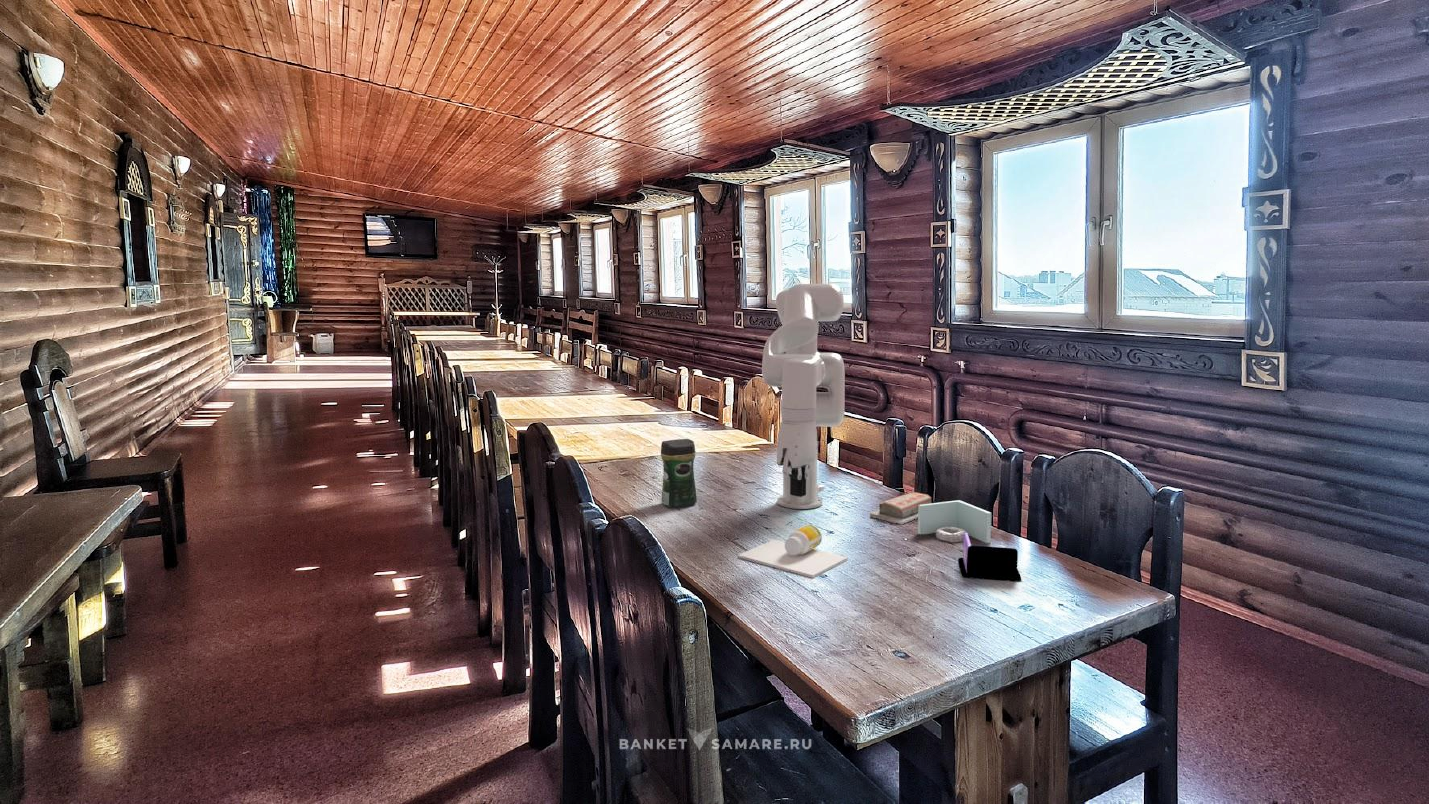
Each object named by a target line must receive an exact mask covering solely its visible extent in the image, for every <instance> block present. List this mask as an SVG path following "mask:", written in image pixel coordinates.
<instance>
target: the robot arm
mask: <svg viewBox="0 0 1429 804" xmlns="http://www.w3.org/2000/svg"><path fill="white" fill-rule="evenodd" d="M775 307H776V311H777V316H778V318H779V320H780V324H781V326H780V327H778V328H777V329H776V330H775V331H774V332H772V333H771V335H769V337H768V338H767V340H766V341H765V344H764V347H763V351H762V364H761V375H762V380H763V382H764V383H765V384H766V385H767V386H769V387H775V388H781V399H780V409H779V410H780V415H781V422H780V423H779V424H780V425H779V427H778V428H779V429H778V433H777V445H776V464H777V466H781V467H782V472H781V473H782V495H780V496H779V497H778V498H777V501H776V502H777V504H778V505H779V506H781V507H783V508H787V509H796V510H808V509H816V508H819V507H821V506H822V505H823V499H822V498H821V497H819V496H818V495H819V493H821V492H823V491H825V486H824V485H823V484H818V431H817V427H818V428H819V427H821V428H822V427H824V428H825V427H827V428H828V427H829V428H832V427H833V428H834V427H839V426H840V425H842V423H843V422H844V420H845V419H844V418H845V398H846V397H845V395H846V394H845V388H846V387H845V386H846V385H845V381H846V380H845V378H846V375H845V374H846V372H845V363H844V359H843V357H842V356H841V355H840V354H839V353H835V352H820V351H818V334H819V331H820V330H819V328H820V327H819V322H836V321H839V319H840V318H841V316H842V314H843V310H844V295H843V291H842V289H841V288H840V286H838V285H837V284H834V283H800V284H794V285H792V286H791V287H789V288H788V289H785V290H781V291H779V292H778V294H776V298H775ZM817 388H824V389H827V390H828V392H827V391H825V392H824V391H822V392H820V391H817Z"/></svg>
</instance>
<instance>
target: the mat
mask: <svg viewBox="0 0 1429 804" xmlns="http://www.w3.org/2000/svg"><path fill="white" fill-rule="evenodd" d="M737 558H738V559H742V560H745V559H746V560H745V561H750V562H753V563H756V564H761V565H764V566H766V567H767V566H768V567H770V568H774V567H775V569H779V570H782V571H786V572H789V571H791V572H790V573H793V572H794V574H796V573H797V574H796V575H801V576H804V577H808V578H813V579H814V578H816V577H818V576H820V575H822V574H824V573H826V572H827V571H829V570H831V569H833V568H835V567H838V566H839V565H841V564H843V563H845V562H847V561H848V556H847V557H846V556H842V555H839V554H835V553H830V552H826V551H821V550H818V549H815V548H814V549H812V550H810V551H808V552H807V553H805V554H803V555H791V554H789V553H788V552H787V551H786V549H785V541H781V540H778V539H773V540H770V541H767V542H766V543H763V544H761V545H759V546H755V547H754V548H751V549H749V550H746V551H744V552H742V553H740V554H737Z"/></svg>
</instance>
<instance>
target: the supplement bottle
mask: <svg viewBox="0 0 1429 804" xmlns="http://www.w3.org/2000/svg"><path fill="white" fill-rule="evenodd" d="M822 539H823V535H822V532H821V530H820V529H819V528H818V526H816V525H814V524H806V525H804V526H802V527H801V528H798V529H797V530H795V531H793V532H791V533H790V535H789V536H788V538H787V539H786V540H785V541H784V542H785V549H786V551H787V552H788V553H789V554H791V555H803V554H805V553H807V552H808V551H810V550H812V549H815V548H817V547H819V546H820V544H821V543H822V541H823V540H822Z"/></svg>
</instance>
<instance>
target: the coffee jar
mask: <svg viewBox="0 0 1429 804" xmlns="http://www.w3.org/2000/svg"><path fill="white" fill-rule="evenodd" d="M660 447H661V448H660V458H661V459H662V463H663V464H662V465H663V475H662V487H661V502H662V505H663V506H665V507H666V508H672V509H674V508H677V509H678V508H685V507H690V506H694V505H696V503H697V501H698V497H697V490H696V481H695V472H694V470H695V469H694V462H695V457H696V454H697V453H696V446H695V442H694V440H692V439H689V438H679V439H669V440H663V441H662V442H661V446H660Z"/></svg>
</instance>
